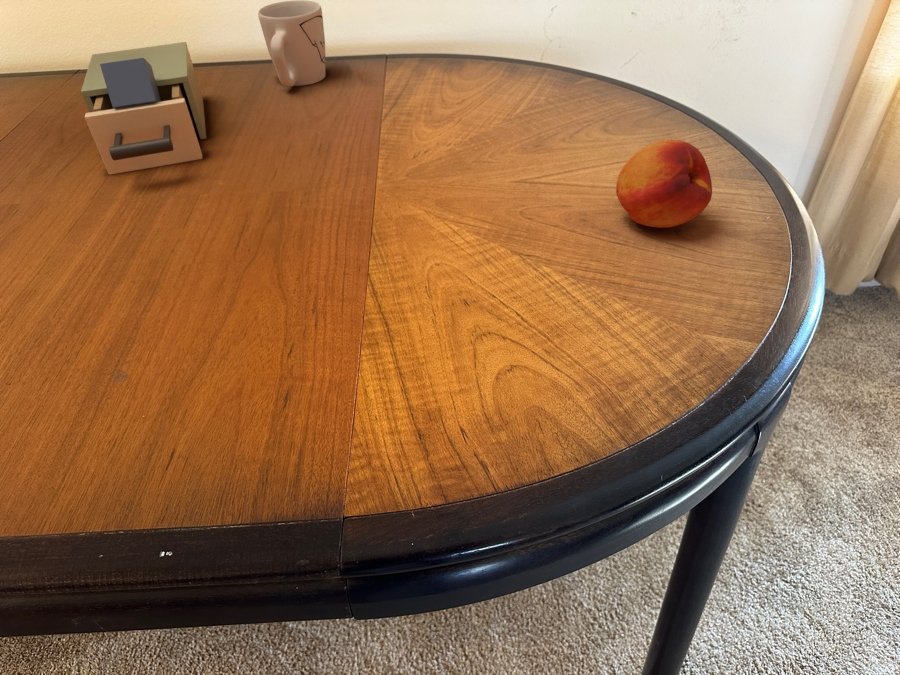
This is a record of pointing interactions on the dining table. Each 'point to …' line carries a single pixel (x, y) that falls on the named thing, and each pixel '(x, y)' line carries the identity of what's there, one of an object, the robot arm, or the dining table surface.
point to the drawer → (145, 131)
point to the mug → (295, 40)
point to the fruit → (665, 184)
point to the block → (130, 82)
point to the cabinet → (167, 68)
